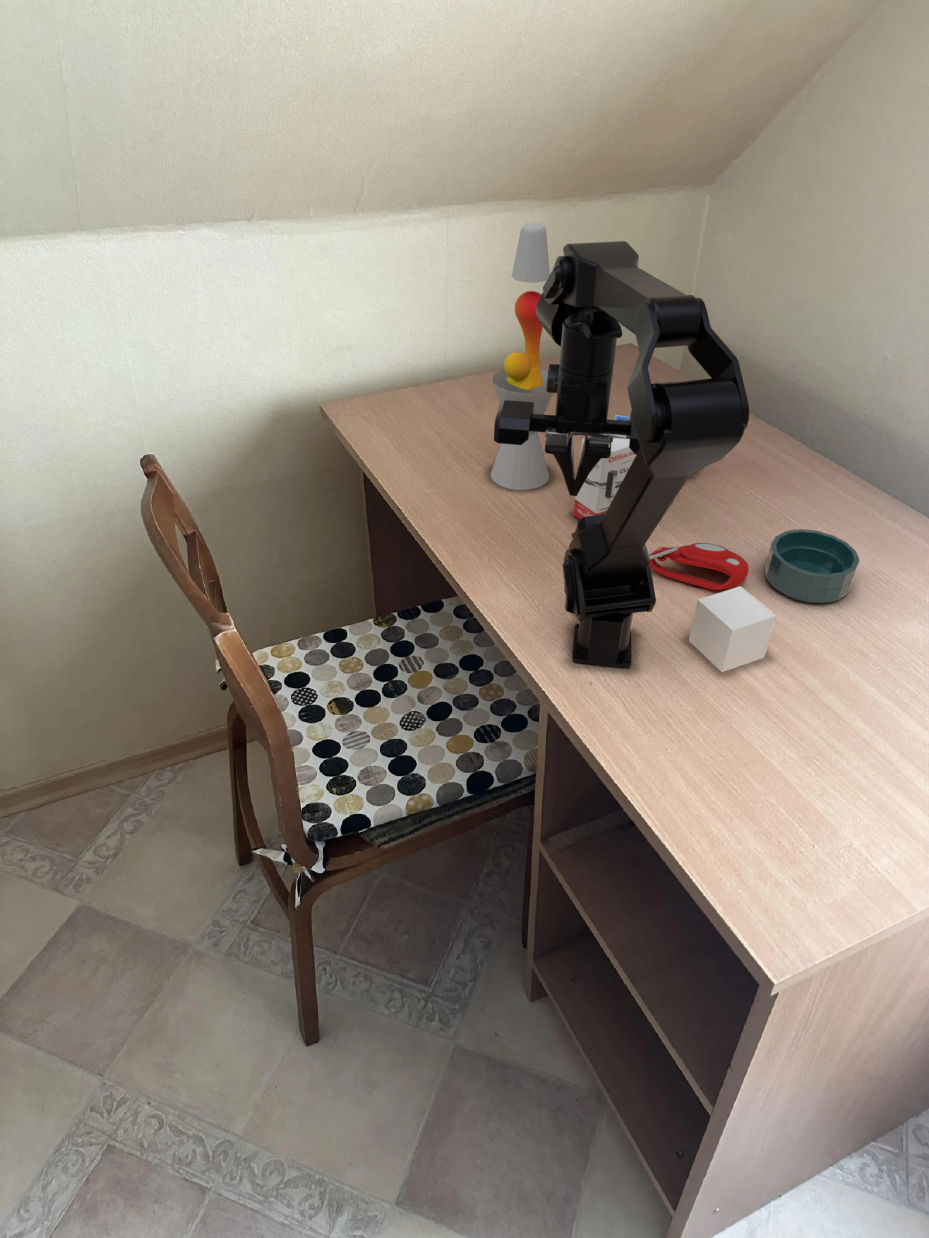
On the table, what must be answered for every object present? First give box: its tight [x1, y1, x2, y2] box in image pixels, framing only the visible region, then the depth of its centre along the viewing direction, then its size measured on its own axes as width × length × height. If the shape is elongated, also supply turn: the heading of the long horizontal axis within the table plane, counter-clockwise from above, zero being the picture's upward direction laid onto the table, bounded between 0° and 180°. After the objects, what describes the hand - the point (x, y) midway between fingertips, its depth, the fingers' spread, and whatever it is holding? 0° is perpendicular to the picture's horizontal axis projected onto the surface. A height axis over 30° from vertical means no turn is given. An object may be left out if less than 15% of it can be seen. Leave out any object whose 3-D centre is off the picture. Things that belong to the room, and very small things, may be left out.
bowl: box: [764, 528, 860, 604], centre depth 111 cm, size 10×10×4 cm
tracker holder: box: [648, 542, 749, 591], centre depth 112 cm, size 12×4×10 cm
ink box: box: [572, 437, 636, 520], centre depth 120 cm, size 8×5×12 cm, turn 123°
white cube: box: [688, 585, 777, 673], centre depth 100 cm, size 6×6×6 cm
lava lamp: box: [490, 222, 554, 491], centre depth 122 cm, size 9×9×35 cm
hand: (573, 494), depth 105 cm, fingers closed
